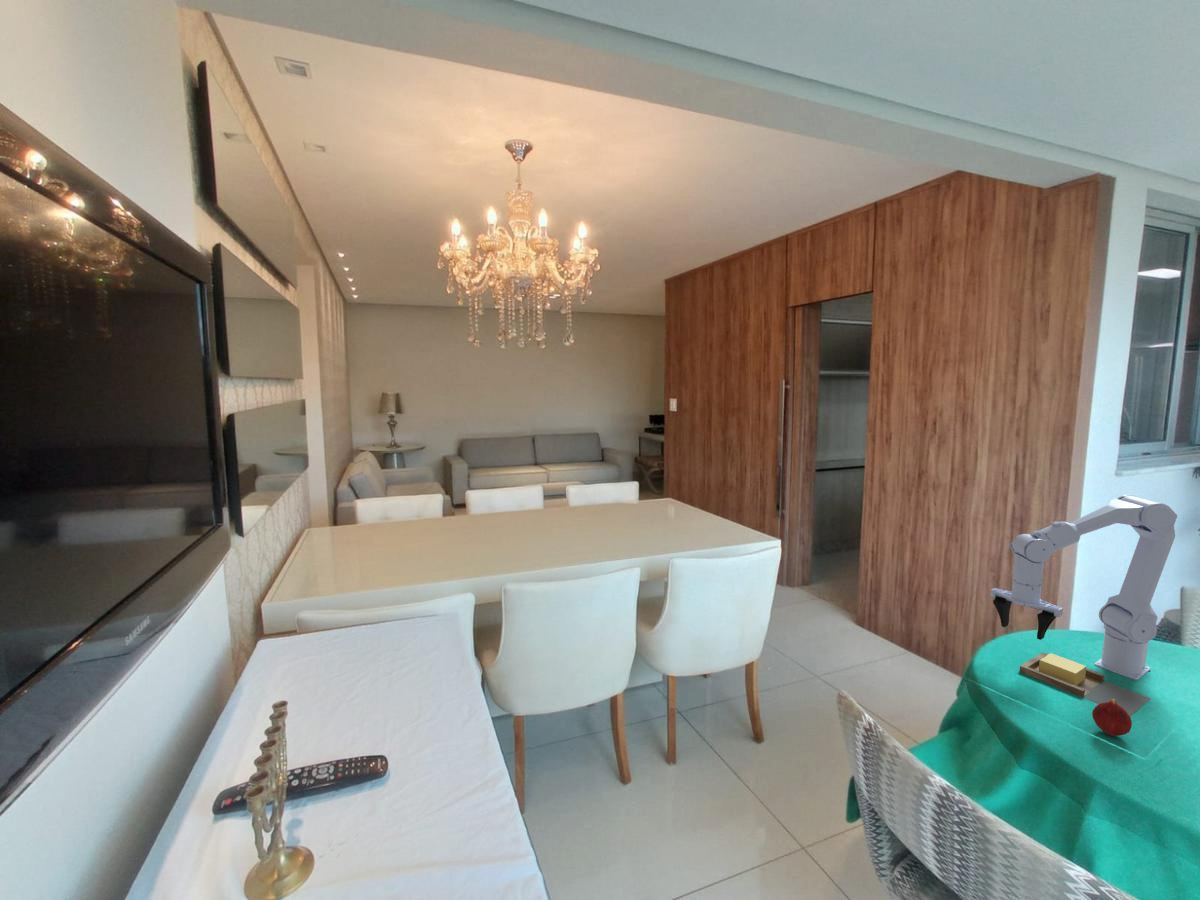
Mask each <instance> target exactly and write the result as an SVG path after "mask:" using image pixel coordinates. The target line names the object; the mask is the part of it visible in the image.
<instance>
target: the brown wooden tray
mask: <svg viewBox="0 0 1200 900" xmlns="http://www.w3.org/2000/svg"><path fill="white" fill-rule="evenodd" d="M1048 654H1049V653H1046V652H1043V651H1042V652H1041V653H1039V654H1038V655H1036V656H1034V657H1032V658H1030V659H1029V660H1027V661H1025V662H1024V663H1022V664H1020V665H1019V673H1022V674H1025V675H1027V676H1030V677H1031V678H1034V679H1036V680H1039V681H1041V682H1044V683H1046V684H1048V685H1052V686H1054V687H1056V688H1058V689H1061V690H1063V691H1066V692H1068V693H1071V694H1073V695H1076V696H1078V697H1081V698H1083V697H1084V696H1085V695H1086V694H1088V693H1089V692H1090V691H1092V690H1093V689H1094V688H1096V687H1097V686H1098V685H1099V684H1101V683H1102V682H1103V681H1105V674H1104V673H1101V672H1098V671H1095V670H1093V669H1089V668H1087V667H1086V674H1085V680H1083V681H1082V682H1081V683H1079V684H1078V685H1077V686H1075V685H1073V684H1070V683H1068V682H1065V681H1063V680H1060V679H1058V678H1055V677H1053V676H1050V675H1047V674H1045V673H1042V672H1040V671H1039V663H1040V659H1042V658H1044V657H1045V656H1047V655H1048Z"/></svg>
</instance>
